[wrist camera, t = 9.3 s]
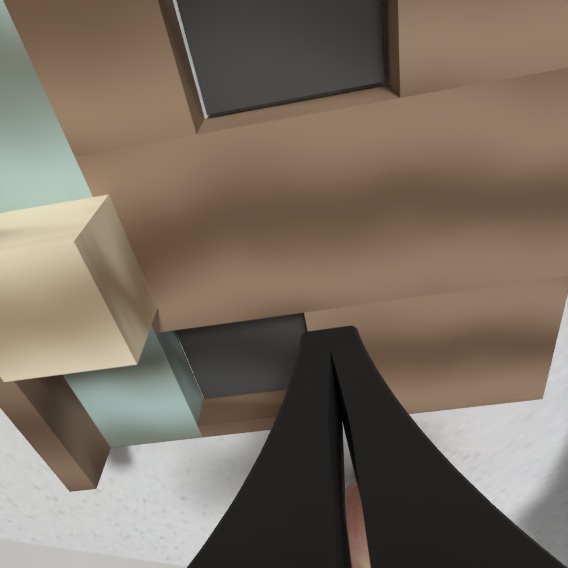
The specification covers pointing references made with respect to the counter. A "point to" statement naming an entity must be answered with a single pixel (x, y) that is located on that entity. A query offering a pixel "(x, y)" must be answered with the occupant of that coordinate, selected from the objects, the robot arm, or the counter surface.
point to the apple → (356, 528)
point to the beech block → (69, 291)
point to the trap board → (295, 200)
